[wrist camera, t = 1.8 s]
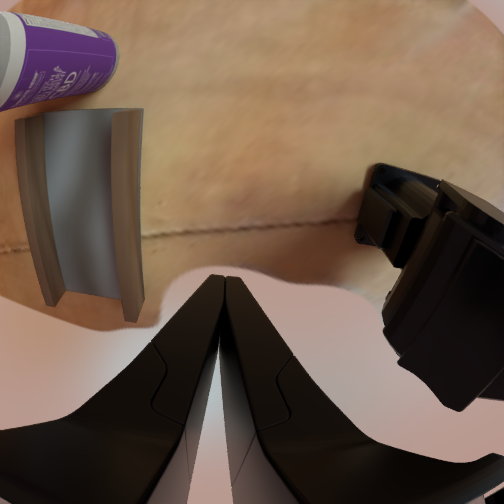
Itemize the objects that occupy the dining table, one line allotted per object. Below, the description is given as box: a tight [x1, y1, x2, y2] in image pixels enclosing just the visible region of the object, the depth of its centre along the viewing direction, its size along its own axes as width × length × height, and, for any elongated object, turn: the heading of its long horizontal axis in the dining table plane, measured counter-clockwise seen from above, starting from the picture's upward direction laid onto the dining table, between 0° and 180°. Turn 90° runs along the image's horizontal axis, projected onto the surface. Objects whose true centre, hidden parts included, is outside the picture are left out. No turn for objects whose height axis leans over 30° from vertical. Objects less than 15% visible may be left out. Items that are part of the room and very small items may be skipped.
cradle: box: [15, 108, 145, 323], centre depth 20 cm, size 9×16×3 cm, turn 171°
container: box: [0, 12, 119, 112], centre depth 9 cm, size 5×5×15 cm
